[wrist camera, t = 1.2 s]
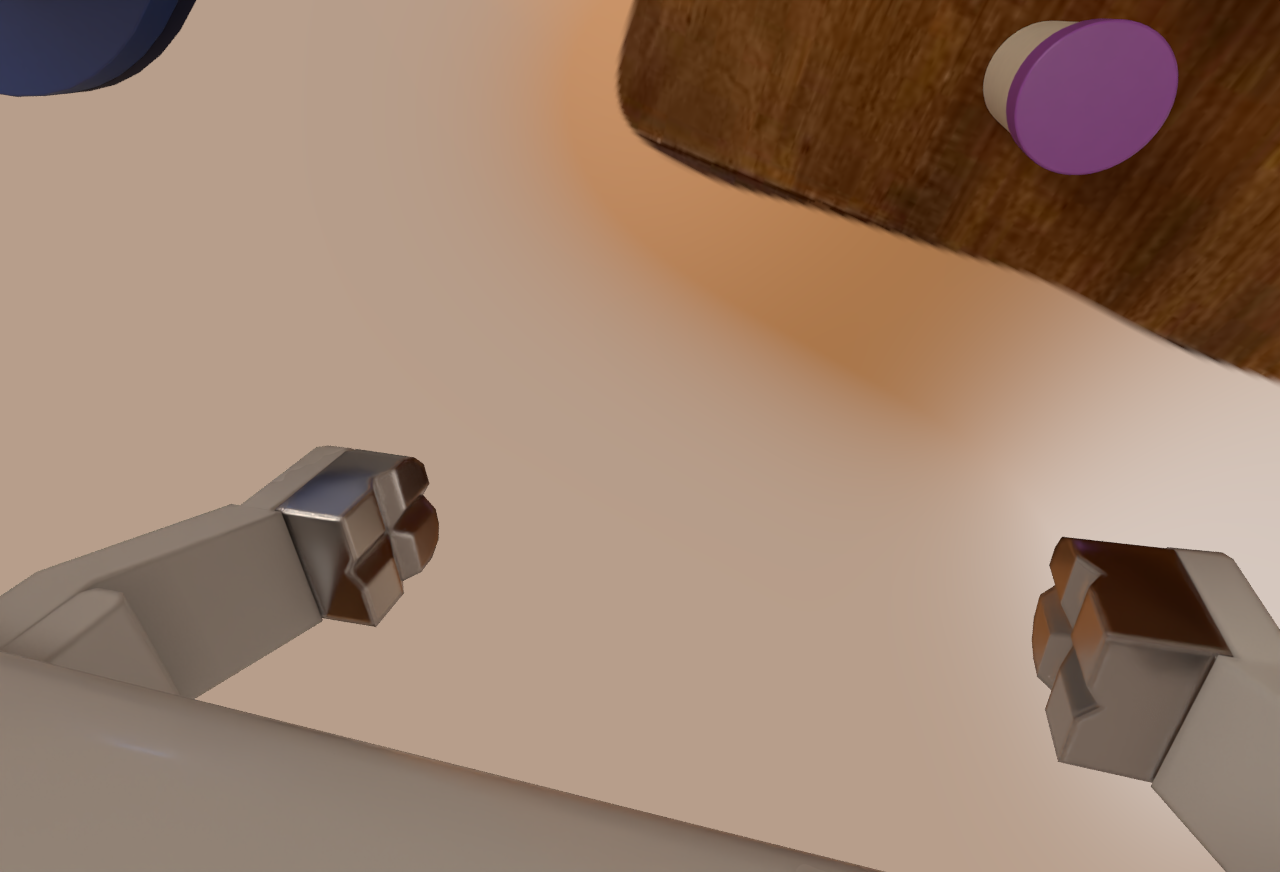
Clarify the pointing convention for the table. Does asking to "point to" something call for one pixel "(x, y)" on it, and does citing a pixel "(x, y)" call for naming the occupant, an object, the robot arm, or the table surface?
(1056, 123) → the glue stick
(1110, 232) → the table surface
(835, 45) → the table surface
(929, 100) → the table surface
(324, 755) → the robot arm
